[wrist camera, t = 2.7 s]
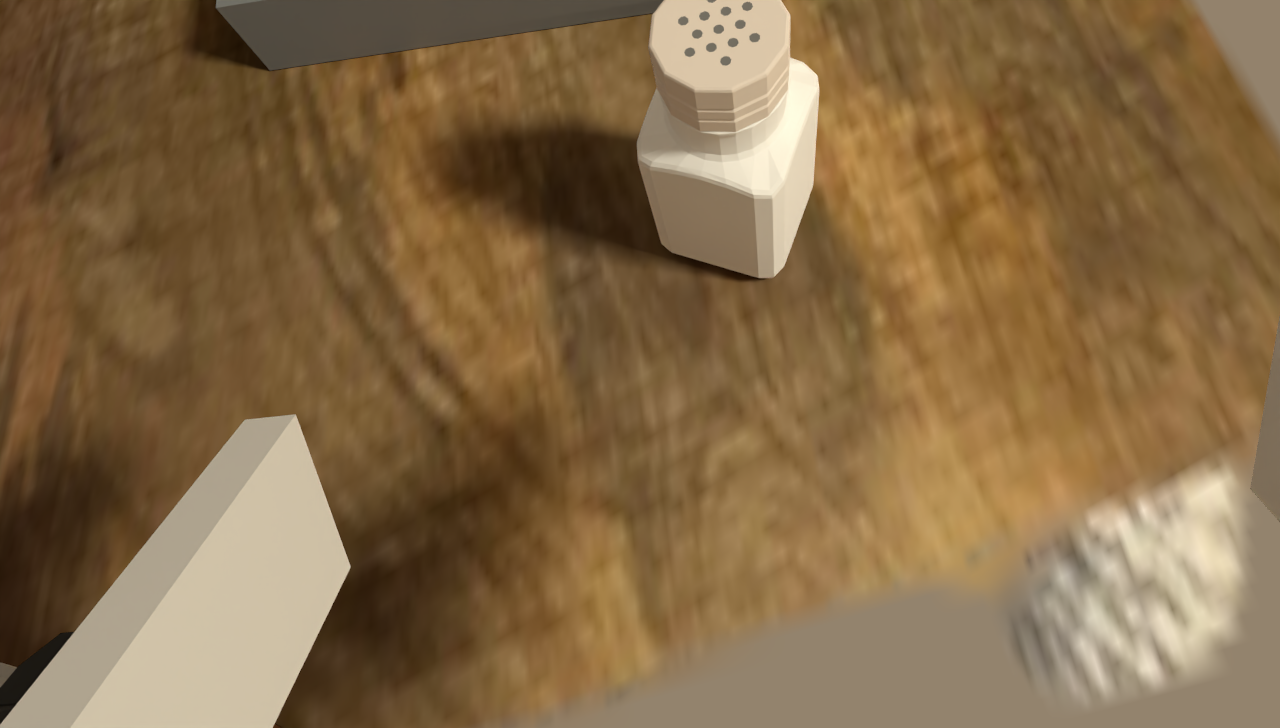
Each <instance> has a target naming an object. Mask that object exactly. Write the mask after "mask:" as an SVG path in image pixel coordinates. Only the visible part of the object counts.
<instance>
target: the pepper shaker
mask: <svg viewBox="0 0 1280 728" xmlns="http://www.w3.org/2000/svg"><path fill="white" fill-rule="evenodd" d="M648 48H649V53H650V58H651V62H652V66H653V71H654V76H655V81H656V85H657V88H656V91H655V93H654V96H653V98H652V101H651V103H650V106H649V108H648V111H647V113H646V116H645V119H644V122H643V125H642V128H641V131H640V134H639V137H638V140H637V157H638V165H639V168H640V171H641V175H642V178H643V182H644V185H645V189H646V192H647V196H648V199H649V203H650V206H651V210H652V213H653V217H654V220H655V224H656V227H657V231H658V234H659V238H660V241H661V244H662V245H663V246H664V247H666V248H667V249H668V250H669V251H671V252H672V253H675V254H678V255H682V256H685V257H688V258H692V259H695V260H699V261H702V262H705V263H709V264H712V265H716V266H719V267H723V268H726V269H729V270H733V271H736V272H740V273H743V274H746V275H750V276H753V277H757V278H773V277H775V275H776V274H777V273H778V272H779V271H780V270H781V269H782V268H783V267H784V265H785V263H786V260H787V257H788V254H789V251H790V249H791V246H792V243H793V240H794V238H795V235H796V232H797V229H798V226H799V224H800V221H801V218H802V215H803V212H804V210H805V207H806V204H807V201H808V199H809V196H810V193H811V190H812V187H813V179H814V164H815V149H816V133H817V118H818V103H819V83H818V77H817V75H816V74H815V73H814V72H813V71H812V70H811V69H810V68H809V67H808V66H807V65H806V64H804V63H803V62H801V61H798V60H796V59H793V58H790V14H789V12H788V11H787V9H786V7H785V6H784V4H783V3H782V1H781V0H664V1H663V2H662V3H661V4H660V6H659V7H658V8H657V10H656V11H655V12H654V13H653V15H652V19H651V28H650V37H649V46H648Z"/></svg>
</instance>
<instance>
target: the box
mask: <svg viewBox="0 0 1280 728" xmlns="http://www.w3.org/2000/svg"><path fill="white" fill-rule="evenodd" d="M663 1H664V0H216V9H217V10H218V11H219V12H220V13H221V15H222V16H223V17H224V18H225V19H226V20H227V22H228V23H229V24H230V25H231V26H232V27H233V28H234V30H235V31H236V32H237V33H238V34H239V35H240V37H241V38H242V39H243V40H244V41H245V42H246V43H247V45H248V46H249V47H250V48H251V49H252V50H253V52H254V53H255V54H256V55H257V56H258V57H259V58H260V60H261V61H262V62H263V63H264V64H265V65H266V67H267V68H268V69H269V70H277V69H284V68H290V67H297V66H304V65H310V64H317V63H324V62H330V61H337V60H344V59H350V58H357V57H364V56H370V55H377V54H384V53H390V52H397V51H404V50H410V49H417V48H424V47H430V46H437V45H444V44H450V43H457V42H464V41H470V40H477V39H484V38H490V37H497V36H503V35H510V34H517V33H523V32H530V31H537V30H543V29H550V28H557V27H563V26H570V25H577V24H583V23H590V22H597V21H603V20H610V19H617V18H623V17H630V16H637V15H643V14H650V13H654V12H655V11H656V10H657V8H658V7H659V6H660V4H661V3H662V2H663Z"/></svg>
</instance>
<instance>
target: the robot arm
mask: <svg viewBox="0 0 1280 728" xmlns="http://www.w3.org/2000/svg"><path fill="white" fill-rule="evenodd" d="M1250 489H1251V490H1252V491H1253V492H1254V493H1255V495H1256V496H1257V497H1258V498H1259V499H1260V500H1261V501H1262V502H1263V504H1264V505H1265V506H1266V507H1267V508H1268V509H1269V510H1270V512H1271V513H1272V514H1273V515H1274V516H1275V517H1276V518H1277V520H1278V521H1279V522H1280V317H1279V323H1278V329H1277V335H1276V341H1275V347H1274V353H1273V358H1272V364H1271V370H1270V376H1269V382H1268V388H1267V394H1266V400H1265V405H1264V411H1263V417H1262V423H1261V429H1260V435H1259V441H1258V447H1257V453H1256V458H1255V464H1254V470H1253V476H1252V482H1251V488H1250ZM350 568H351V566H350V564H349V561H348V558H347V555H346V552H345V550H344V547H343V544H342V541H341V539H340V536H339V533H338V530H337V528H336V525H335V522H334V519H333V516H332V514H331V511H330V508H329V505H328V503H327V500H326V497H325V494H324V492H323V489H322V486H321V483H320V480H319V478H318V475H317V472H316V469H315V467H314V464H313V461H312V458H311V456H310V453H309V450H308V447H307V444H306V442H305V439H304V436H303V433H302V431H301V428H300V425H299V422H298V420H297V417H296V414H295V415H286V416H276V417H267V418H258V419H248V420H244V421H243V423H242V424H241V425H240V426H239V428H238V429H237V430H236V431H235V433H234V434H233V435H232V436H231V438H230V439H229V440H228V441H227V443H226V444H225V445H224V446H223V448H222V449H221V450H220V451H219V453H218V454H217V455H216V456H215V458H214V459H213V460H212V461H211V463H210V464H209V465H208V466H207V468H206V469H205V470H204V471H203V473H202V474H201V475H200V476H199V478H198V479H197V480H196V481H195V482H194V484H193V485H192V486H191V487H190V489H189V490H188V491H187V492H186V494H185V495H184V496H183V497H182V499H181V500H180V501H179V502H178V504H177V505H176V506H175V507H174V509H173V510H172V511H171V512H170V514H169V515H168V516H167V517H166V519H165V520H164V521H163V522H162V524H161V525H160V526H159V527H158V529H157V530H156V531H155V532H154V534H153V535H152V536H151V537H150V539H149V540H148V541H147V542H146V544H145V545H144V546H143V547H142V549H141V550H140V551H139V552H138V554H137V555H136V556H135V557H134V559H133V560H132V561H131V562H130V563H129V565H128V566H127V567H126V568H125V570H124V571H123V572H122V573H121V575H120V576H119V577H118V578H117V580H116V581H115V582H114V583H113V585H112V586H111V587H110V588H109V590H108V591H107V592H106V593H105V595H104V596H103V597H102V598H101V600H100V601H99V602H98V603H97V605H96V606H95V607H94V608H93V610H92V611H91V612H90V613H89V615H88V616H87V617H86V618H85V620H84V621H83V622H82V623H81V625H80V626H79V627H78V628H77V630H76V631H75V632H68V633H61V634H59V635H58V636H57V637H55V638H54V639H53V640H52V641H50V642H49V643H48V644H46V645H45V646H44V647H43V648H41V649H40V650H39V651H37V652H36V653H35V654H34V655H32V656H31V657H30V658H28V659H27V660H26V661H25V662H23V663H22V664H21V665H19V666H18V667H17V668H16V669H15V671H14V672H13V673H12V674H11V675H10V677H9V678H8V679H7V680H6V681H5V682H4V684H3V685H2V686H1V687H0V728H273V726H274V724H275V722H276V720H277V718H278V716H279V714H280V711H281V709H282V707H283V705H284V703H285V701H286V699H287V697H288V695H289V693H290V691H291V689H292V687H293V685H294V683H295V681H296V679H297V677H298V674H299V672H300V670H301V668H302V666H303V664H304V662H305V660H306V658H307V656H308V654H309V652H310V650H311V648H312V646H313V644H314V642H315V640H316V637H317V635H318V633H319V631H320V629H321V627H322V625H323V623H324V621H325V619H326V617H327V615H328V613H329V611H330V609H331V607H332V605H333V603H334V600H335V598H336V596H337V594H338V592H339V590H340V588H341V586H342V584H343V582H344V580H345V578H346V576H347V574H348V572H349V570H350Z"/></svg>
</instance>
